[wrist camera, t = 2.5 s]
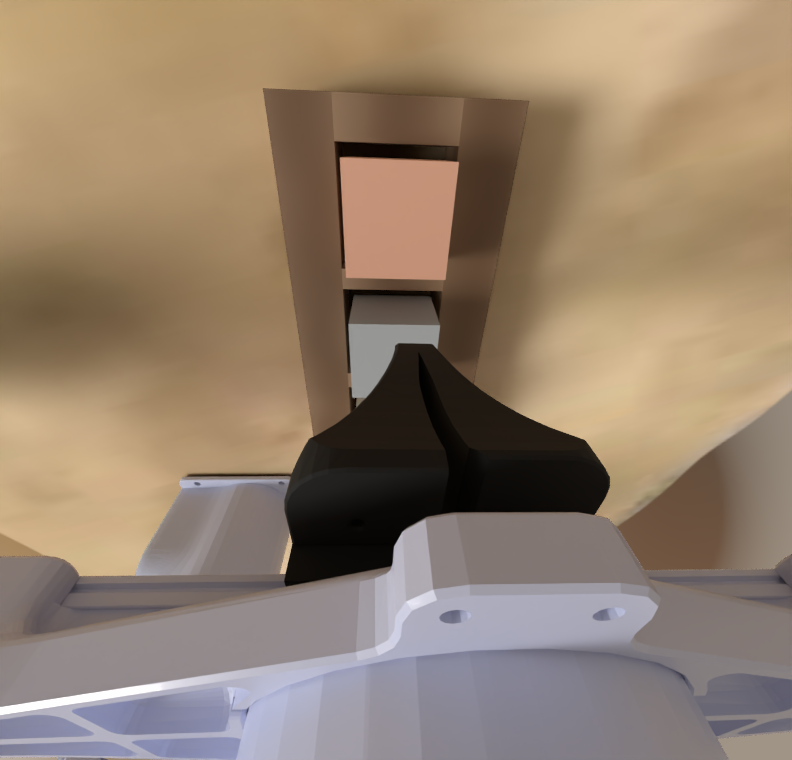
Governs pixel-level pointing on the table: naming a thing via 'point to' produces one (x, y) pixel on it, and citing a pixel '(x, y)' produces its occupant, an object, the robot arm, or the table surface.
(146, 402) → the table surface
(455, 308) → the frame
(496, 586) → the robot arm
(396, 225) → the key terracotta
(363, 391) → the key slate
